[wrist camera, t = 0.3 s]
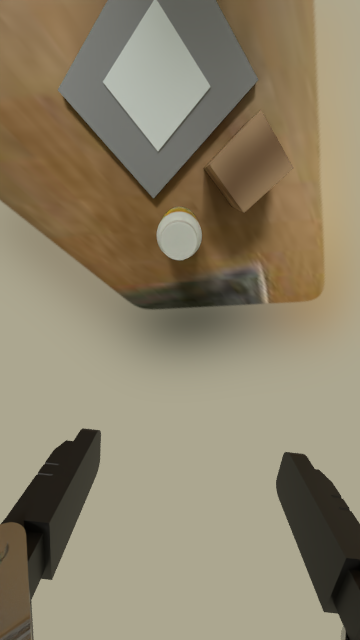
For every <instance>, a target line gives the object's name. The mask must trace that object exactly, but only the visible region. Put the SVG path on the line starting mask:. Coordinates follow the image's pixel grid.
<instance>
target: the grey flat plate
mask: <svg viewBox="0 0 360 640" xmlns="http://www.w3.org/2000/svg"><path fill="white" fill-rule="evenodd" d="M257 81H258V78H257V76H256V74H255V73H254V71H253V69H252V67H251V65H250V63H249V61H248V60H247V58H246V56H245V54H244V52H243V50H242V48H241V46H240V45H239V43H238V41H237V39H236V37H235V35H234V33H233V32H232V30H231V28H230V26H229V24H228V22H227V20H226V18H225V17H224V15H223V13H222V11H221V9H220V7H219V5H218V4H217V2H216V0H108V1H107V2H106V4H105V6H104V8H103V10H102V11H101V13H100V15H99V17H98V19H97V20H96V22H95V24H94V26H93V28H92V29H91V31H90V33H89V35H88V37H87V38H86V40H85V42H84V44H83V46H82V47H81V49H80V51H79V53H78V55H77V56H76V58H75V60H74V62H73V64H72V65H71V67H70V69H69V71H68V73H67V74H66V76H65V78H64V80H63V82H62V83H61V85H60V87H59V89H58V91H59V92H60V93H61V94H62V95H63V97H64V98H65V99H66V100H67V101H68V102H69V103H70V104H71V106H72V107H73V108H74V109H75V110H76V111H77V112H78V114H79V115H80V116H81V117H82V118H83V119H84V120H85V121H86V123H87V124H88V125H89V126H90V127H91V128H92V129H93V131H94V132H95V133H96V134H97V135H98V136H99V137H100V139H101V140H102V141H103V142H104V143H105V144H106V145H107V146H108V148H109V149H110V150H111V151H112V152H113V153H114V154H115V156H116V157H117V158H118V159H119V160H120V161H121V162H122V163H123V165H124V166H125V167H126V168H127V169H128V170H129V171H130V173H131V174H132V175H133V176H134V177H135V178H136V179H137V180H138V182H139V183H140V184H141V185H142V186H143V187H144V188H145V190H146V191H147V192H148V193H149V194H150V195H151V196H152V198H155V197H156V195H157V194H158V193H159V192H160V191H161V190H162V189H163V188H164V186H165V185H166V184H167V183H168V182H169V181H170V180H171V178H172V177H173V176H174V175H175V174H176V173H177V172H178V171H179V169H180V168H181V167H182V166H183V165H184V164H185V163H186V161H187V160H188V159H189V158H190V157H191V156H192V155H193V154H194V152H195V151H196V150H197V149H198V148H199V147H200V146H201V145H202V143H203V142H204V141H205V140H206V139H207V138H208V137H209V135H210V134H211V133H212V132H213V131H214V130H215V129H216V128H217V126H218V125H219V124H220V123H221V122H222V121H223V120H224V118H225V117H226V116H227V115H228V114H229V113H230V112H231V111H232V109H233V108H234V107H235V106H236V105H237V104H238V103H239V102H240V100H241V99H242V98H243V97H244V96H245V95H246V94H247V92H248V91H249V90H250V89H251V88H252V87H253V86H254V85H255V83H256V82H257Z"/></svg>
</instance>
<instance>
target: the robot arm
mask: <svg viewBox="0 0 360 640" xmlns="http://www.w3.org/2000/svg"><path fill="white" fill-rule="evenodd" d="M100 441H101V432H100V430H92V429H82V430H80V432H79V433H78V435H77V437H76V438H75V440H74V441H65V442H64V443H62V444H61V445H60V446H59V447H57V448H56V449H55V450H54V451H53V452H52V454H51V455H50V457H49V458H48V459H47V461H46V462H45V465H43V466H42V468H41V469H40V471H39V472H38V475H36V476H35V478H34V479H33V480H32V482H31V483H30V485H29V486H28V487H27V489H26V490H25V492H24V493H23V495H22V496H21V497H20V499H19V500H18V502H17V503H16V504H15V506H14V507H13V509H12V510H11V511H10V513H9V514H8V516H7V517H6V518H5V520H4V521H3V522H2V523H1V524H0V640H34V639H33V622H32V605H31V599H32V597H33V595H34V593H35V590H36V588H37V586H38V584H39V581H40V579H49V580H52V578H53V576H54V573H55V571H56V569H57V566H58V564H59V562H60V559H61V557H62V555H63V552H64V550H65V548H66V545H67V543H68V541H69V538H70V536H71V534H72V531H73V529H74V526H75V524H76V522H77V519H78V517H79V515H80V512H81V510H82V507H83V505H84V503H85V500H86V498H87V496H88V493H89V491H90V489H91V486H92V484H93V482H94V479H95V477H96V474H97V471H98V467H99V463H100V443H101V442H100ZM276 488H277V494H278V497H279V500H280V502H281V505H282V507H283V510H284V512H285V515H286V517H287V520H288V523H289V525H290V528H291V530H292V533H293V535H294V538H295V540H296V542H297V545H298V548H299V550H300V553H301V555H302V558H303V560H304V563H305V566H306V568H307V571H308V573H309V576H310V578H311V581H312V583H313V586H314V588H315V591H316V593H317V596H318V598H319V601H320V603H321V605H322V608H323V611H324V612H329V613H338V614H339V616H340V618H341V621H342V623H343V625H344V626H343V629H342V633H341V640H360V524H359V522H358V521H357V519H356V518H355V516H354V515H353V513H352V512H351V511H350V510H349V507H348V506H347V504H346V503H345V501H344V500H343V499H342V498H341V495H340V494H339V492H338V491H337V489H336V488H335V486H334V485H333V483H332V482H331V481H330V480H329V479H328V478H327V477H326V476H325V475H324V474H323V473H322V472H321V471H320V470H316V469H314V467H313V466H312V464H311V463H310V461H309V460H308V458H307V456H306V455H304V454H298V453H290V452H285V453H284V455H283V458H282V462H281V465H280V469H279V472H278V476H277V480H276Z"/></svg>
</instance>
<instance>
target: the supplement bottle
mask: <svg viewBox="0 0 360 640" xmlns="http://www.w3.org/2000/svg"><path fill="white" fill-rule="evenodd" d="M201 240H202V231H201V227H200V225H199V223H198V220H197V218H196V216H195V215H194V214H193V213H192V212H191V211H190V210H189V209H187V208H184V207H175V208H172V209H170V210H169V211H168V212H167V213H166V214H165V215H164V216H163V218H162V220H161V222H160V224H159V226H158V229H157V242H158V245H159V247H160V249H161V250H162V251H163V253H164V254H166V255H167V256H168V257H169V258H171V259H174V260H184V259H187V258H189V257H190V256H192V255H193V254H194V253H195V252H196V251H197V250H198V248H199V246H200V244H201Z"/></svg>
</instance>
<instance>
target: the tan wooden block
mask: <svg viewBox="0 0 360 640" xmlns="http://www.w3.org/2000/svg"><path fill="white" fill-rule="evenodd" d="M204 169H205V171H206V172H207V173H208V175H209V176H210V177H211V179H212V180H213V181H214V183H215V184H216V186H217V187H218V188H219V190H220V191H221V192H222V194H223V195H224V196H225V198H226V199H227V201H228V202H229V203H230V205H231V206H232V207H234V208H236V209H237V210H239V211H241V212H243V213H244V212H246V211H247V210H248V209H249V208H250V207H251V206H252V205H253V204H254V203H256V202H257V201H258V200H259V199H260V198H261V197H262V196H263V195H264V194H266V193H267V192H268V191H269V190H270V189H271V188H272V187H273V186H274V185H275V184H277V183H278V182H279V181H280V180H281V179H282V178H283V177H284V176H285V175H287V174H288V173H289V172H290V171H291V170H292V169H293V166H292V164H291V162H290V161H289V159H288V157H287V155H286V153H285V152H284V150H283V148H282V146H281V144H280V143H279V141H278V139H277V137H276V135H275V134H274V132H273V130H272V128H271V127H270V125H269V123H268V121H267V119H266V118H265V116H264V114H263V112H262V110H260V111H259V112H258V113H257V114H256V115H255V116H254V117H252V118H251V119H250V120H249V121H248V122H247V123H246V124H245V125H243V126H242V127H241V129H240V130H239V131H238V132H237V133H236V134H235V135H234V136H233V137H232V138H231V139H230V140H229V141H228V143H227V144H226V145H225V146H224V147H223V148H222V149H221V150H220V151H219V152H218V153H217V154H216V155H215V157H214V158H213V159H212V160H211V161H210V162H209V163H208V164H207V165H206V166H205V167H204Z"/></svg>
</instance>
